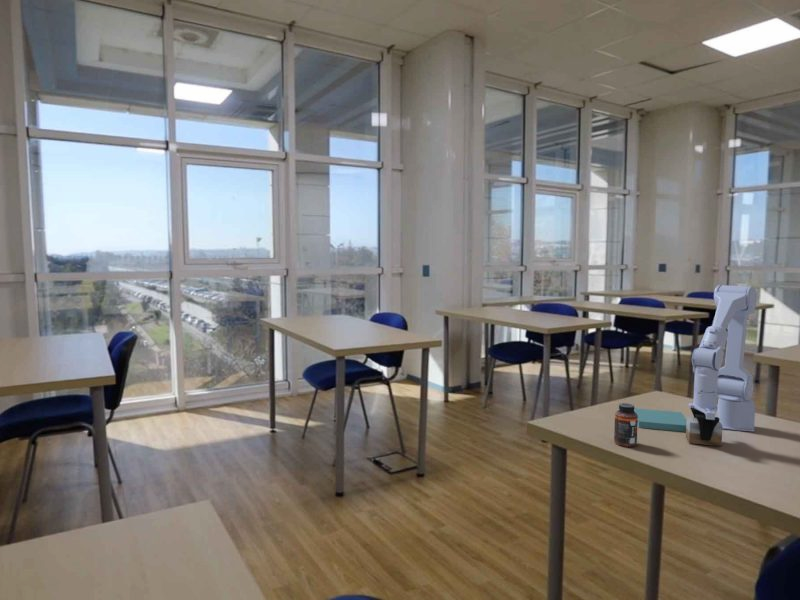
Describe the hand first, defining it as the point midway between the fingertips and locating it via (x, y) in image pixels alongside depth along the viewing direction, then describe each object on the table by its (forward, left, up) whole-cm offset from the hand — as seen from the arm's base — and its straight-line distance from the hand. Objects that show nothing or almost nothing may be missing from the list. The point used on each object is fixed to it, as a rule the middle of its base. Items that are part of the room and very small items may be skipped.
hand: (703, 436), depth 148 cm
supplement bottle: (+21, +8, -2) cm, 23 cm away
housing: (0, 0, -1) cm, 1 cm away
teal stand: (+9, -15, -2) cm, 18 cm away
